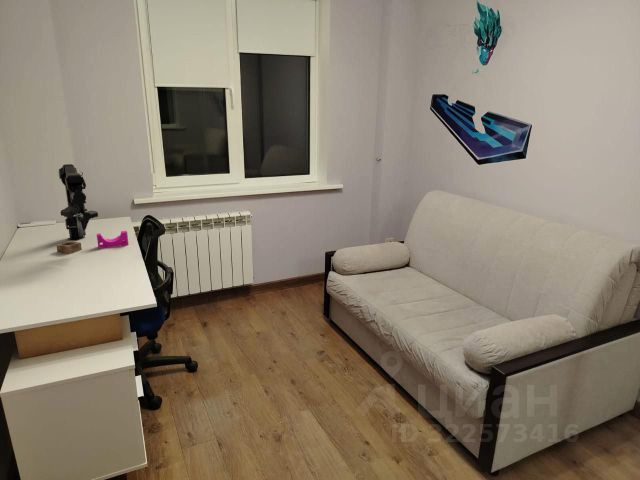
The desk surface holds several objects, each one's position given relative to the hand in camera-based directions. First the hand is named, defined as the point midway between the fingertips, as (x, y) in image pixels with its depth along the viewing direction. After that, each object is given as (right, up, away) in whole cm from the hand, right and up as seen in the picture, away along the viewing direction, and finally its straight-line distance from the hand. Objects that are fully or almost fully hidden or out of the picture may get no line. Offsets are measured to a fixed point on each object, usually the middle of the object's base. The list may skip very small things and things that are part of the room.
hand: (81, 229), depth 228 cm
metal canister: (0, -3, +1) cm, 3 cm away
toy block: (+8, -8, +17) cm, 21 cm away
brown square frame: (-10, -11, +6) cm, 16 cm away
